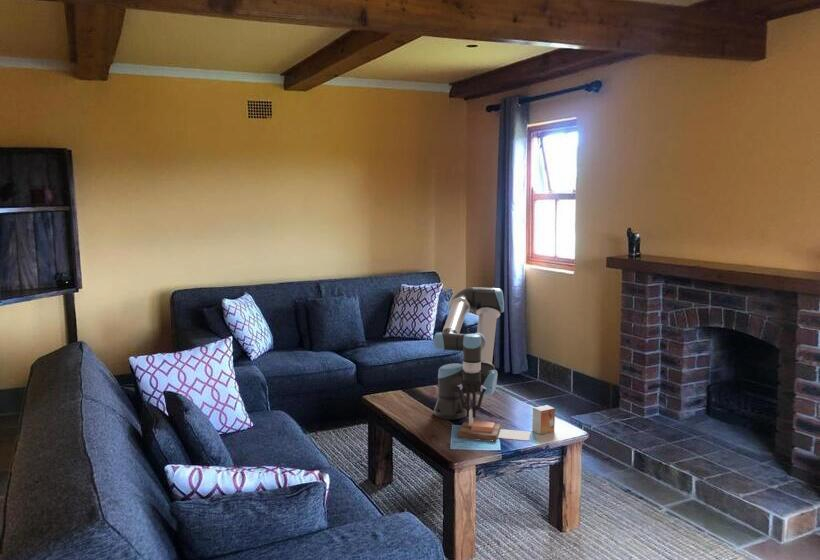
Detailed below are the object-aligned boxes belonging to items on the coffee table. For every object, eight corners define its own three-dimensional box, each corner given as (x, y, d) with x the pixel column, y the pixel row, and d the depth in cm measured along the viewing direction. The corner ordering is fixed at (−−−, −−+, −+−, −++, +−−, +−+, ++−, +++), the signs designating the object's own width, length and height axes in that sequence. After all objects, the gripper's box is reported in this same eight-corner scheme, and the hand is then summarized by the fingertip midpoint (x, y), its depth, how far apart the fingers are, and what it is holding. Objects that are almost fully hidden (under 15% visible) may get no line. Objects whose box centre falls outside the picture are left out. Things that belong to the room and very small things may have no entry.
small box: (540, 435, 281) (540, 411, 280) (531, 430, 286) (532, 407, 285) (554, 431, 285) (555, 408, 284) (546, 427, 290) (546, 404, 289)
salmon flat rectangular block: (471, 430, 280) (471, 425, 280) (474, 425, 286) (474, 420, 286) (492, 432, 278) (492, 427, 278) (494, 427, 284) (494, 422, 283)
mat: (500, 429, 288) (500, 429, 288) (530, 432, 284) (530, 431, 284) (497, 438, 278) (497, 437, 278) (528, 441, 275) (528, 440, 275)
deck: (464, 426, 292) (464, 420, 291) (500, 429, 288) (500, 424, 287) (458, 437, 278) (458, 432, 278) (496, 441, 274) (496, 435, 274)
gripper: (454, 372, 278) (454, 426, 281) (485, 374, 275) (484, 429, 278) (458, 367, 285) (457, 420, 288) (488, 369, 282) (487, 423, 285)
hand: (471, 424), depth 283 cm, fingers closed
